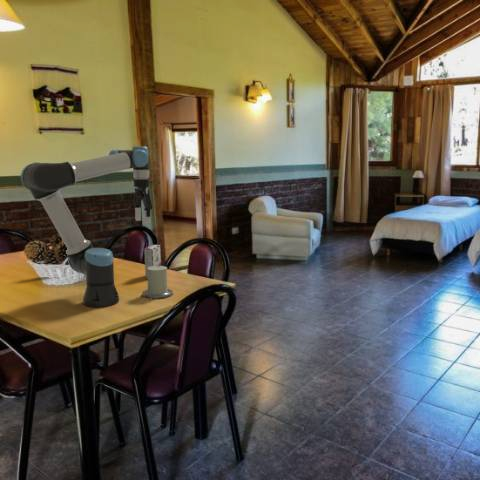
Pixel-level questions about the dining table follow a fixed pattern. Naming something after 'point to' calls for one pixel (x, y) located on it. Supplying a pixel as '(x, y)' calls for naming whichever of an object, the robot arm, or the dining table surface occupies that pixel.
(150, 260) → the candy bar box
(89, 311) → the dining table surface
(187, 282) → the dining table surface
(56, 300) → the dining table surface
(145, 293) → the flange plate
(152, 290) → the can
